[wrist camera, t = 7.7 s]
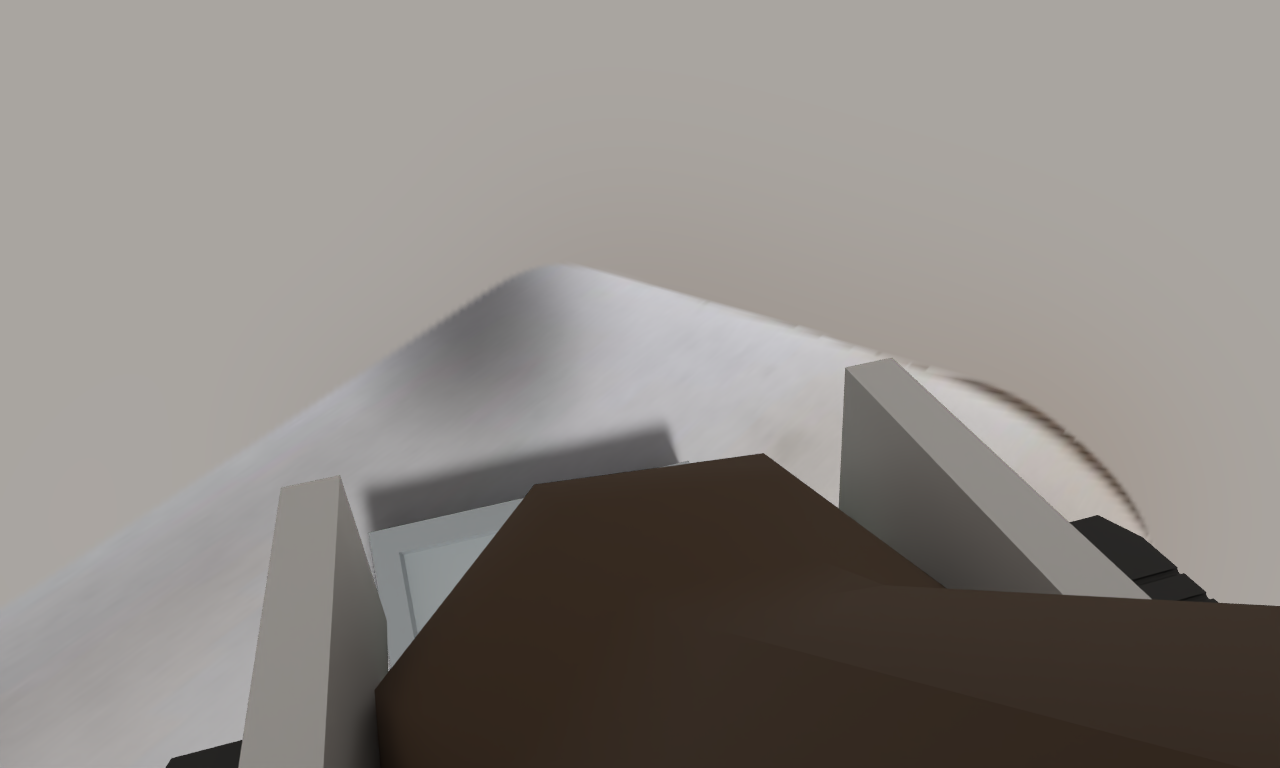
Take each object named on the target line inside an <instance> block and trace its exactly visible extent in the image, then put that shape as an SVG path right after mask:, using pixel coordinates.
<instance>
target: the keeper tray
mask: <svg viewBox="0 0 1280 768" xmlns="http://www.w3.org/2000/svg"><path fill="white" fill-rule="evenodd" d="M682 464H689V461H686V462H681V463H677V464H672V465H668V466H675V465H682ZM663 467H667V466H663ZM659 468H660V467H659ZM523 499H524V498H521V499H516V500H512V501H508V502H503V503H499V504H494V505H490V506H485V507H481V508H476V509H472V510H467V511H463V512H459V513H454V514H450V515H445V516H441V517H436V518H432V519H427V520H423V521H419V522H414V523H410V524H405V525H401V526H396V527H392V528H387V529H383V530H378V531H374V532H370V533H368V535H369V541H370V547H371V553H372V558H373V564H374V570H375V576H376V582H377V588H378V594H379V598H380V601H381V604H382V607H383V610H384V613H385V616H386V619H387V643H388V653H389V659H390V664H391V668H392V667H393V665H394V664H395V663H396V662H397V660H398V659H399V658H400V656H401V655H402V654H403V653H404V651H405V650H406V649H407V647H408V646H409V645H410V644H411V642H412V641H413V640H414V638H415V637H416V636H417V635H418V633H419V632H420V631H421V629H422V628H423V627H424V626H425V624H426V623H427V622H428V621H429V619H430V618H431V617H432V615H433V614H434V613H435V612H436V610H437V609H438V608H439V606H440V605H441V604H442V603H443V601H444V600H445V599H446V597H447V596H448V595H449V594H450V592H451V591H452V590H453V588H454V587H455V586H456V585H457V583H458V582H459V581H460V579H461V578H462V577H463V576H464V574H465V573H466V572H467V570H468V569H469V568H470V567H471V565H472V564H473V563H474V562H475V560H476V559H477V558H478V556H479V555H480V554H481V553H482V551H483V550H484V549H485V547H486V546H487V545H488V544H489V542H490V541H491V540H492V538H493V537H494V536H495V535H496V533H497V532H498V531H499V529H500V528H501V527H502V526H503V524H504V523H505V522H506V520H507V519H508V518H509V517H510V515H511V514H512V513H513V511H514V510H515V509H516V508H517V506H518V505H519V504H520V502H521V501H522V500H523Z"/></svg>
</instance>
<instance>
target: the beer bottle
mask: <svg viewBox="0 0 1280 768" xmlns="http://www.w3.org/2000/svg"><path fill="white" fill-rule="evenodd" d="M374 691H375V704H376V717H377V730H378V743H379V756H380V768H1280V606H1267V605H1247V604H1229V603H1210V602H1192V601H1173V600H1154V599H1135V598H1116V597H1097V596H1078V595H1059V594H1041V593H1022V592H1003V591H984V590H965V589H947V588H946V587H944V586H943V585H941V584H940V583H939V582H937V581H936V580H935V579H933V578H932V577H931V576H929V575H928V574H927V573H925V572H924V571H923V570H921V569H920V568H918V567H917V566H916V565H914V564H913V563H912V562H910V561H909V560H908V559H906V558H905V557H904V556H902V555H901V554H899V553H898V552H897V551H895V550H894V549H893V548H891V547H890V546H889V545H887V544H886V543H885V542H883V541H882V540H880V539H879V538H878V537H876V536H875V535H874V534H872V533H871V532H870V531H868V530H867V529H866V528H864V527H863V526H861V525H860V524H859V523H857V522H856V521H855V520H853V519H852V518H851V517H849V516H848V515H847V514H845V513H844V512H843V511H841V510H840V509H838V508H837V507H836V506H834V505H833V504H832V503H830V502H829V501H828V500H826V499H825V498H824V497H822V496H821V495H819V494H818V493H817V492H815V491H814V490H813V489H811V488H810V487H809V486H807V485H806V484H805V483H803V482H802V481H800V480H799V479H798V478H796V477H795V476H794V475H792V474H791V473H790V472H788V471H787V470H786V469H784V468H783V467H782V466H780V465H779V464H777V463H776V462H775V461H773V460H772V459H771V458H769V457H768V456H767V455H765V454H764V453H762V454H755V455H748V456H740V457H733V458H726V459H718V460H711V461H704V462H696V463H689V464H682V465H675V466H667V467H660V468H653V469H645V470H638V471H631V472H623V473H616V474H609V475H601V476H594V477H587V478H579V479H572V480H565V481H557V482H550V483H543V484H535V485H534V486H533V487H532V488H531V490H530V491H529V492H528V494H527V495H526V496H525V497H524V499H523V500H522V501H521V502H520V504H519V505H518V506H517V508H516V509H515V510H514V511H513V513H512V514H511V515H510V517H509V518H508V519H507V520H506V522H505V523H504V524H503V526H502V527H501V528H500V529H499V531H498V532H497V533H496V535H495V536H494V537H493V538H492V540H491V541H490V542H489V544H488V545H487V546H486V547H485V549H484V550H483V551H482V553H481V554H480V555H479V556H478V558H477V559H476V560H475V562H474V563H473V564H472V565H471V567H470V568H469V569H468V570H467V572H466V573H465V574H464V576H463V577H462V578H461V579H460V581H459V582H458V583H457V585H456V586H455V587H454V588H453V590H452V591H451V592H450V594H449V595H448V596H447V597H446V599H445V600H444V601H443V603H442V604H441V605H440V606H439V608H438V609H437V610H436V612H435V613H434V614H433V615H432V617H431V618H430V619H429V621H428V622H427V623H426V624H425V626H424V627H423V628H422V629H421V631H420V632H419V633H418V635H417V636H416V637H415V638H414V640H413V641H412V642H411V644H410V645H409V646H408V647H407V649H406V650H405V651H404V653H403V654H402V655H401V656H400V658H399V659H398V660H397V662H396V663H395V664H394V665H393V667H392V668H391V669H390V671H389V672H388V673H387V674H386V676H385V677H384V678H383V680H382V681H381V682H380V683H379V685H378V686H377V687H376V688H375V690H374Z"/></svg>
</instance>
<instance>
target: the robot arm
mask: <svg viewBox="0 0 1280 768" xmlns="http://www.w3.org/2000/svg"><path fill="white" fill-rule="evenodd" d="M839 509H840V510H841V511H843V512H844V513H845V514H847V515H848V516H849V517H851V518H852V519H853V520H855V521H856V522H857V523H859V524H860V525H861V526H863V527H864V528H866V529H867V530H868V531H870V532H871V533H872V534H874V535H875V536H876V537H878V538H879V539H880V540H882V541H883V542H885V543H886V544H887V545H889V546H890V547H891V548H893V549H894V550H895V551H897V552H898V553H899V554H901V555H902V556H904V557H905V558H906V559H908V560H909V561H910V562H912V563H913V564H914V565H916V566H917V567H918V568H920V569H921V570H923V571H924V572H925V573H927V574H928V575H929V576H931V577H932V578H933V579H935V580H936V581H937V582H939V583H940V584H941V585H943V586H944V587H946V588H947V589H965V590H984V591H1003V592H1022V593H1041V594H1059V595H1078V596H1097V597H1116V598H1135V599H1154V600H1173V601H1192V602H1210V603H1218V602H1217V601H1216V600H1215V599H1208V597H1207V596H1206V592H1205V591H1204V590H1203V589H1202V588H1201V587H1200V586H1198V585H1197V584H1196V583H1195V582H1194V581H1193V580H1191V579H1190V578H1189V577H1188V576H1187V575H1186V574H1184V573H1183V574H1179V572H1178V570H1177V567H1176V566H1175V565H1174V564H1173V563H1172V562H1171V561H1169V560H1168V559H1167V558H1166V557H1165V556H1163V555H1162V554H1161V553H1160V552H1159V551H1158V550H1157V549H1155V548H1154V547H1153V546H1152V545H1151V544H1150V543H1148V542H1147V541H1146V540H1145V539H1144V538H1143V537H1141V536H1139V535H1137V534H1135V533H1133V532H1131V531H1129V530H1127V529H1125V528H1123V527H1121V526H1119V525H1117V524H1115V523H1113V522H1111V521H1109V520H1107V519H1105V518H1103V517H1101V516H1099V515H1096V516H1093V517H1089V518H1085V519H1081V520H1077V521H1073V522H1068V521H1067V520H1066V519H1065V518H1064V517H1063V516H1062V515H1061V514H1060V513H1059V512H1058V511H1056V510H1055V509H1054V508H1053V507H1052V506H1051V505H1050V504H1049V503H1048V502H1047V501H1046V500H1045V499H1044V498H1042V497H1041V496H1040V495H1039V494H1038V493H1037V492H1036V491H1035V490H1034V489H1033V488H1032V487H1031V486H1030V485H1028V484H1027V483H1026V482H1025V481H1024V480H1023V479H1022V478H1021V477H1020V476H1019V475H1018V474H1017V473H1016V472H1015V471H1013V470H1012V469H1011V468H1010V467H1009V466H1008V465H1007V464H1006V463H1005V462H1004V461H1003V460H1002V459H1001V458H999V457H998V456H997V455H996V454H995V453H994V452H993V451H992V450H991V449H990V448H989V447H988V446H987V445H985V444H984V443H983V442H982V441H981V440H980V439H979V438H978V437H977V436H976V435H975V434H974V433H973V432H971V431H970V430H969V429H968V428H967V427H966V426H965V425H964V424H963V423H962V422H961V421H960V420H959V419H957V418H956V417H955V416H954V415H953V414H952V413H951V412H950V411H949V410H948V409H947V408H946V407H945V406H943V405H942V404H941V403H940V402H939V401H938V400H937V399H936V398H935V397H934V396H933V395H932V394H931V393H929V392H928V391H927V390H926V389H925V388H924V387H923V386H922V385H921V384H920V383H919V382H918V381H917V380H916V379H914V378H913V377H912V376H911V375H910V374H909V373H908V372H907V371H906V370H905V369H904V368H903V367H902V366H900V365H899V364H898V363H897V362H896V361H895V360H894V359H893V358H888V359H884V360H879V361H874V362H870V363H865V364H860V365H855V366H851V367H846V368H845V385H844V407H843V428H842V450H841V472H840V493H839ZM387 673H388V643H387V619H386V616H385V613H384V610H383V607H382V604H381V601H380V598H379V595H378V591H377V588H376V585H375V582H374V579H373V576H372V573H371V570H370V567H369V564H368V561H367V557H366V554H365V551H364V548H363V545H362V542H361V539H360V536H359V533H358V530H357V527H356V524H355V520H354V517H353V514H352V511H351V508H350V505H349V502H348V499H347V496H346V493H345V490H344V486H343V483H342V480H341V477H340V475H339V476H334V477H329V478H325V479H320V480H315V481H311V482H306V483H301V484H297V485H292V486H287V487H283V488H281V491H280V497H279V504H278V510H277V517H276V523H275V530H274V537H273V543H272V550H271V556H270V563H269V570H268V576H267V583H266V589H265V596H264V602H263V609H262V616H261V622H260V629H259V635H258V642H257V648H256V655H255V662H254V668H253V675H252V681H251V688H250V694H249V701H248V708H247V714H246V721H245V727H244V734H243V740H240V741H237V742H233V743H229V744H225V745H221V746H217V747H214V748H210V749H206V750H202V751H198V752H194V753H190V754H187V755H183V756H179V757H175V758H172V759H171V760H170V762H169V763H168V765H167V766H166V768H380V756H379V743H378V730H377V717H376V704H375V691H374V690H375V688H376V687H377V686H378V685H379V683H380V682H381V681H382V680H383V678H384V677H385V676H386V674H387Z"/></svg>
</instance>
